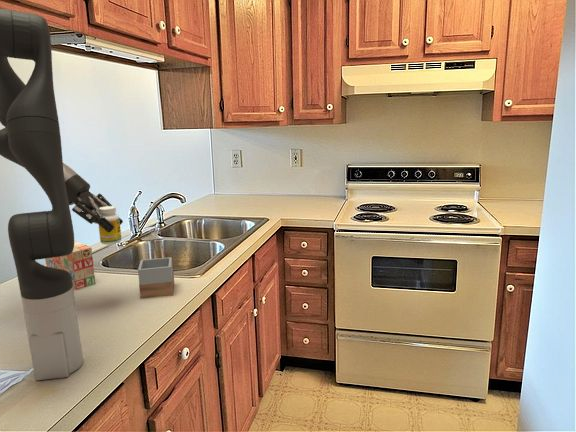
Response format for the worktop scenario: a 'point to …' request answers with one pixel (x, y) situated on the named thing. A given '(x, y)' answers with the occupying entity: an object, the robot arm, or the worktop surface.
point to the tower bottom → (157, 289)
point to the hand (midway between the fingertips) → (116, 226)
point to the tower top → (155, 271)
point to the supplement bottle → (114, 219)
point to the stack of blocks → (76, 265)
